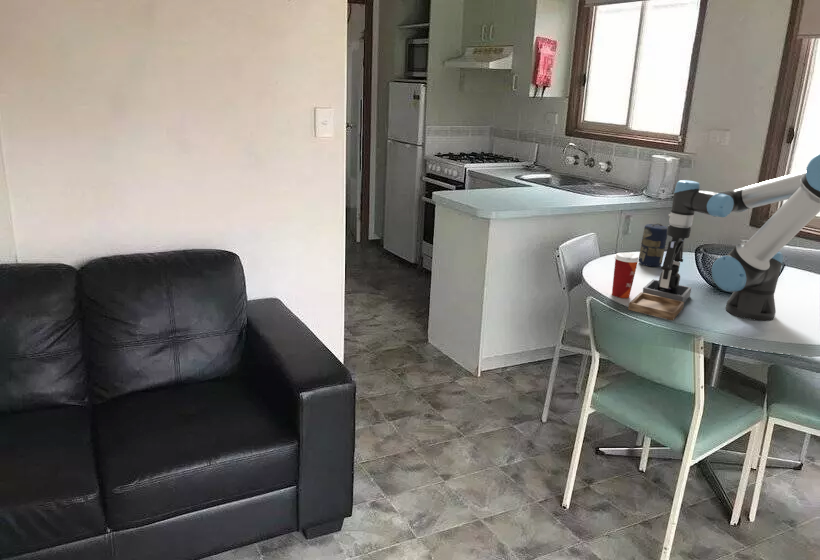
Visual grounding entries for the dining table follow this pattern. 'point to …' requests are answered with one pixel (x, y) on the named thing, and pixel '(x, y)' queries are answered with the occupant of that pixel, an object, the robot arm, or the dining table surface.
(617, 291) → the coffee cup
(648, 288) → the holder box
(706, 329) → the dining table surface
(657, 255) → the canister
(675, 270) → the supplement bottle
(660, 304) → the tray
